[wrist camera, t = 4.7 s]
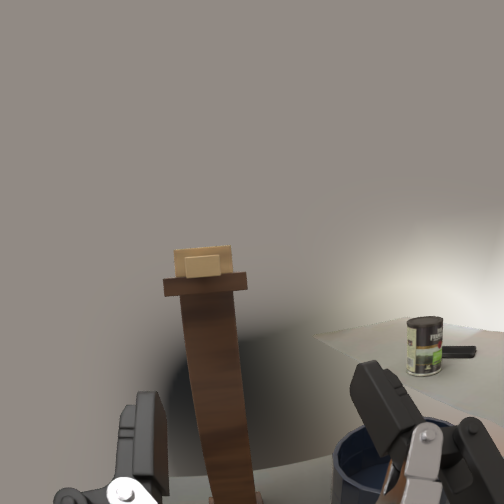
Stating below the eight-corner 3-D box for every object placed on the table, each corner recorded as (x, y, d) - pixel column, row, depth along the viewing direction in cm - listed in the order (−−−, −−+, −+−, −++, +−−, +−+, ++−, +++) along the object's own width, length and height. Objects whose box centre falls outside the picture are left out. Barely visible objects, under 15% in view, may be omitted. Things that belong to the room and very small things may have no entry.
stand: (271, 534, 24) (246, 271, 26) (213, 541, 23) (162, 278, 25) (260, 498, 32) (236, 271, 34) (210, 503, 31) (172, 277, 33)
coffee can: (447, 365, 67) (449, 316, 68) (429, 379, 63) (431, 325, 63) (419, 361, 77) (419, 315, 77) (398, 372, 72) (399, 323, 73)
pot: (478, 498, 20) (496, 447, 20) (361, 561, 17) (372, 516, 18) (412, 450, 37) (418, 405, 37) (313, 484, 34) (313, 438, 35)
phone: (473, 354, 67) (428, 353, 78) (473, 357, 67) (428, 356, 78) (476, 345, 72) (434, 345, 83) (476, 349, 72) (434, 349, 83)
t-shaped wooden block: (180, 276, 31) (178, 253, 31) (228, 272, 32) (226, 249, 32) (160, 280, 17) (157, 238, 17) (246, 273, 18) (243, 232, 18)
